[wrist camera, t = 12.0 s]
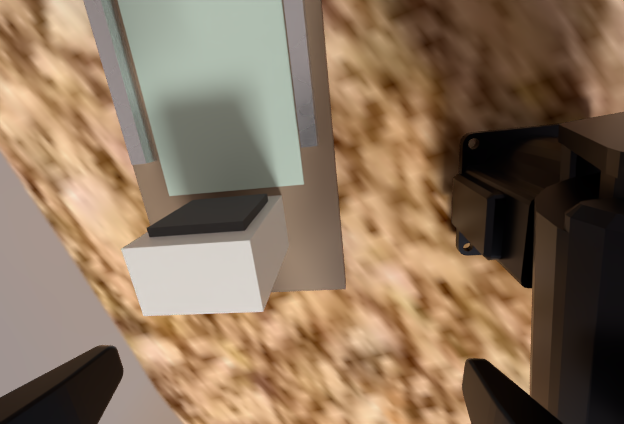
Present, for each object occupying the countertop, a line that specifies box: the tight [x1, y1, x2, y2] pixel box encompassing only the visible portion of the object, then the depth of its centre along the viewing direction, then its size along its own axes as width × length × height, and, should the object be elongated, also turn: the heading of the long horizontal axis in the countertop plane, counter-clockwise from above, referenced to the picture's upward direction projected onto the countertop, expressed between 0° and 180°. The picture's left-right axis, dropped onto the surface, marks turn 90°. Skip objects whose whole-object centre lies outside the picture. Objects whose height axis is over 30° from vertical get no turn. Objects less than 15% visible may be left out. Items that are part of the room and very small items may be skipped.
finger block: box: [121, 194, 289, 316], centre depth 14 cm, size 5×3×6 cm
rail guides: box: [83, 0, 319, 165], centre depth 14 cm, size 10×10×1 cm
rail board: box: [115, 0, 346, 292], centre depth 16 cm, size 11×20×1 cm, turn 6°
